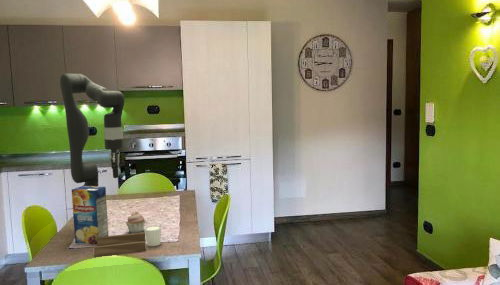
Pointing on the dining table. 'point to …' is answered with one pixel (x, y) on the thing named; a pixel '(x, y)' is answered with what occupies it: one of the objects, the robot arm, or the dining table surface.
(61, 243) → the dining table surface
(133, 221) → the cupcake
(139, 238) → the walnut channel
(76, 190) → the juice carton
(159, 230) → the white tapered cylinder
